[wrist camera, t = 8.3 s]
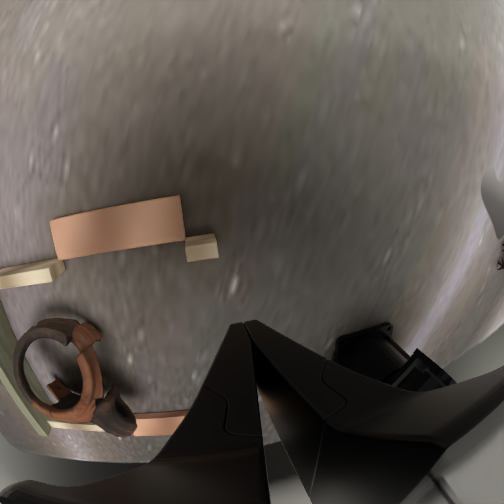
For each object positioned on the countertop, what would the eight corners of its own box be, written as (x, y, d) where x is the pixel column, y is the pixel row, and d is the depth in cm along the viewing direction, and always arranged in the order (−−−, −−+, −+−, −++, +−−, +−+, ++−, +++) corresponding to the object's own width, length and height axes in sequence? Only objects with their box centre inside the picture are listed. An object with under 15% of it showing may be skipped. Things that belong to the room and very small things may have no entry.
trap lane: (208, 191, 19) (212, 196, 15) (243, 419, 26) (250, 448, 22) (-25, 240, 15) (-51, 253, 12) (61, 427, 22) (53, 451, 19)
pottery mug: (33, 368, 20) (-9, 379, 13) (72, 298, 24) (35, 287, 16) (125, 440, 21) (109, 478, 13) (170, 370, 24) (165, 390, 17)
